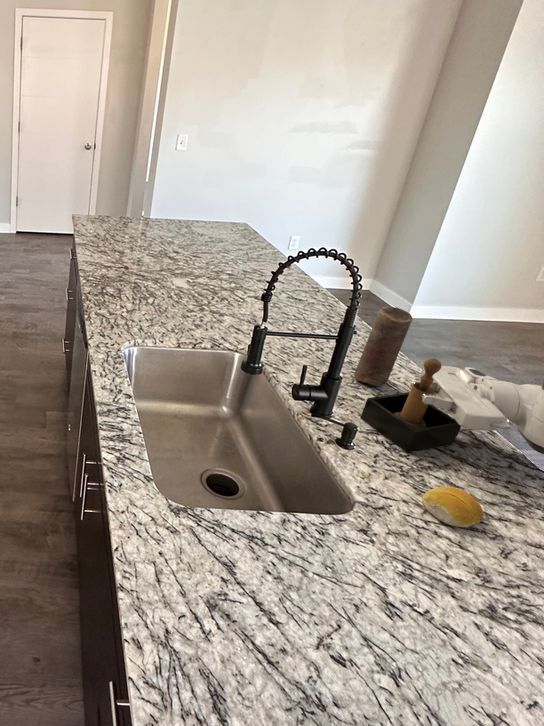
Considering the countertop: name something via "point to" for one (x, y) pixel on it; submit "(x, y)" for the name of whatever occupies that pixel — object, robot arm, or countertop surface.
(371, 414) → the black open square box
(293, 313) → the countertop surface
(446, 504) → the bread roll
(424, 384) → the mortar and pestle
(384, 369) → the candle
